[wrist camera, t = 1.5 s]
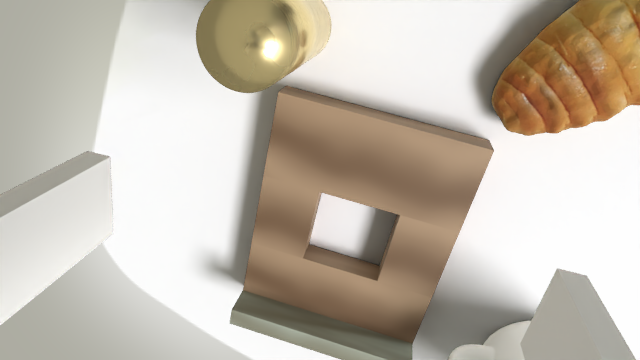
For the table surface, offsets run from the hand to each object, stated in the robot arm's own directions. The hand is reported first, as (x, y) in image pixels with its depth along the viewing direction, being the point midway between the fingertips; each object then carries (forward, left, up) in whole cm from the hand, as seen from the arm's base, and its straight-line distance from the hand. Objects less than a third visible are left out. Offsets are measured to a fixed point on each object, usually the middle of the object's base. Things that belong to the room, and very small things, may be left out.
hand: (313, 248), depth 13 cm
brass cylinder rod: (-3, -6, -18) cm, 20 cm away
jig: (+9, +1, -18) cm, 21 cm away
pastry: (-5, +11, -19) cm, 23 cm away
